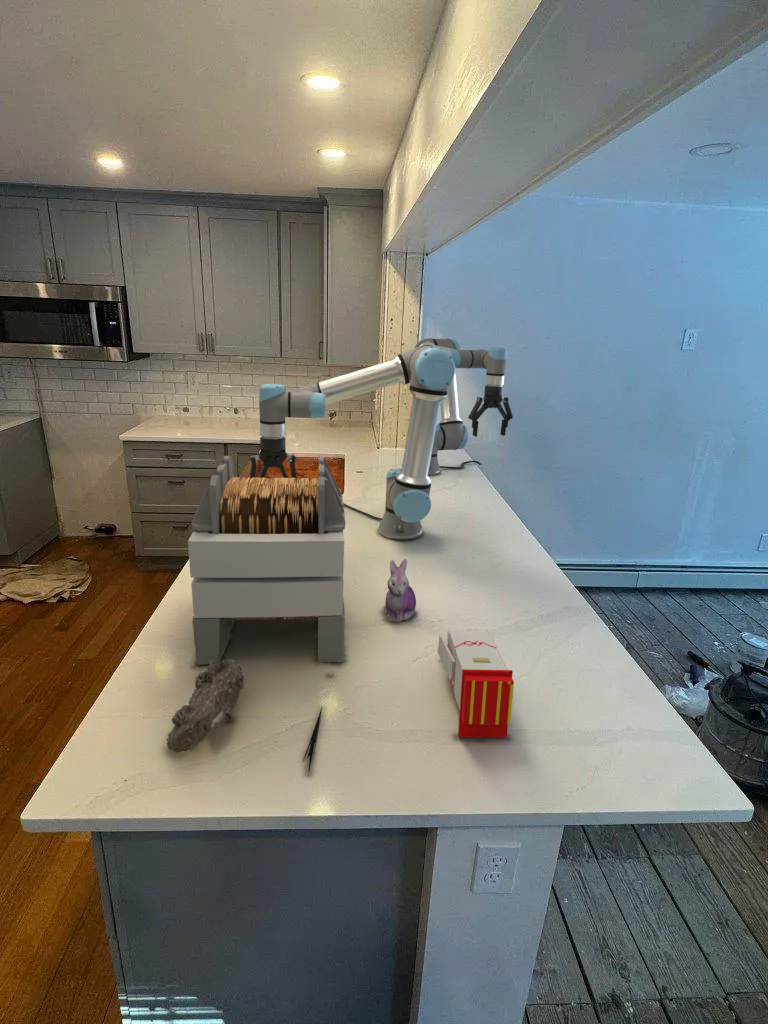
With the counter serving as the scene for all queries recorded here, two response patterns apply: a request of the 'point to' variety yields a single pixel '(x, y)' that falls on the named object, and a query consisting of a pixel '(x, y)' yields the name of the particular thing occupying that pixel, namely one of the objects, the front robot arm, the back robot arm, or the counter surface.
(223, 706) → the fossil
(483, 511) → the counter surface
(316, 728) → the feather
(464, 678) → the toy
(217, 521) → the rotary card file
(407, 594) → the figurine
